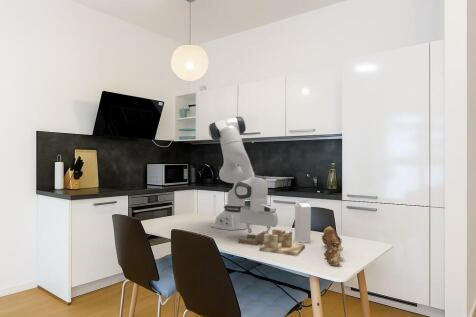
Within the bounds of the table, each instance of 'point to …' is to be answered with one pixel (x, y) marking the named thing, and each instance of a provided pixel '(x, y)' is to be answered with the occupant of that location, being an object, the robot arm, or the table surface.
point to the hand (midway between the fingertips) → (257, 233)
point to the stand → (281, 243)
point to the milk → (302, 222)
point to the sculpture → (332, 246)
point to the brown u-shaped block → (258, 238)
